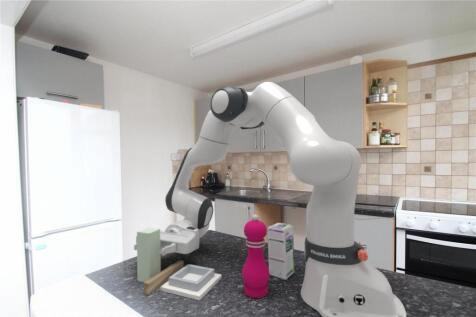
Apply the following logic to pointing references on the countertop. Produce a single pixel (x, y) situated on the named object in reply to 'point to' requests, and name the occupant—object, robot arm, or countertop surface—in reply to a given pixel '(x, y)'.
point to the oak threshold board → (161, 278)
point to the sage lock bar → (148, 254)
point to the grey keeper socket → (191, 281)
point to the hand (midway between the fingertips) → (148, 249)
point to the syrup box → (281, 250)
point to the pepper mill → (255, 260)
